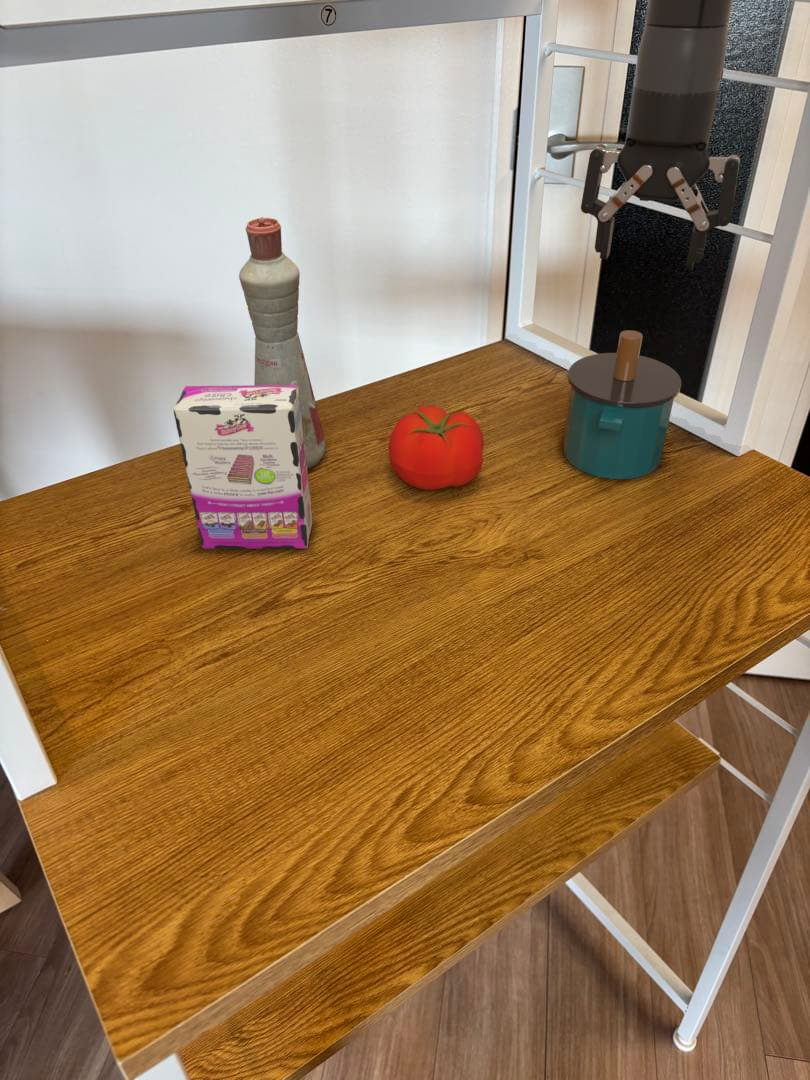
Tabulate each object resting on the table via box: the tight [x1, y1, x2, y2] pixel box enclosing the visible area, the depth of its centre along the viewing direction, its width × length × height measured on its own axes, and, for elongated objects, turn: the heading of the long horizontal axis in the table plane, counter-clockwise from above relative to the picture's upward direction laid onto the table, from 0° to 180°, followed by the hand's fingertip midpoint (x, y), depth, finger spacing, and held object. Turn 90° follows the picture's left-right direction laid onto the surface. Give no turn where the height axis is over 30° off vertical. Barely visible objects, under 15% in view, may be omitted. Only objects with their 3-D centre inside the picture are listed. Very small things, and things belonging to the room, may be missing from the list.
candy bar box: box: [173, 384, 314, 550], centre depth 82 cm, size 11×5×16 cm, turn 89°
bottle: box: [238, 216, 326, 470], centre depth 90 cm, size 9×9×28 cm
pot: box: [562, 386, 675, 480], centre depth 96 cm, size 11×17×10 cm
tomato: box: [387, 405, 485, 491], centre depth 93 cm, size 11×11×8 cm
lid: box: [567, 329, 682, 408], centre depth 92 cm, size 12×12×6 cm
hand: (646, 261), depth 85 cm, fingers open, 8 cm apart
